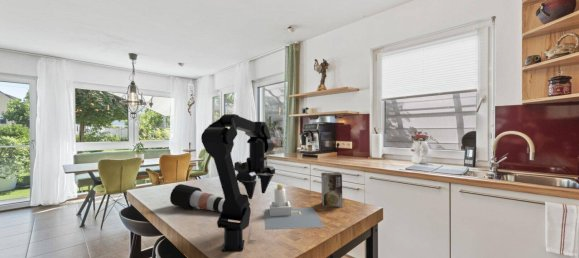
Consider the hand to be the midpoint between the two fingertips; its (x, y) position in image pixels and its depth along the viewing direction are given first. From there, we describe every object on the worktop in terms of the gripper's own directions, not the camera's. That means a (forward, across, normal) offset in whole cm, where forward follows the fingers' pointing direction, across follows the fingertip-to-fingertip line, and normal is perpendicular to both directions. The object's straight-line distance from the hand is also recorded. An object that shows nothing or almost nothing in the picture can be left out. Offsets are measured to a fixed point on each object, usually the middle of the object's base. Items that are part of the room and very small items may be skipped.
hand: (257, 196), depth 96 cm
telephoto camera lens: (+12, -9, -33) cm, 36 cm away
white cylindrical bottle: (+11, -16, +1) cm, 20 cm away
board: (+12, -13, +9) cm, 20 cm away
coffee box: (+12, -37, +19) cm, 44 cm away
